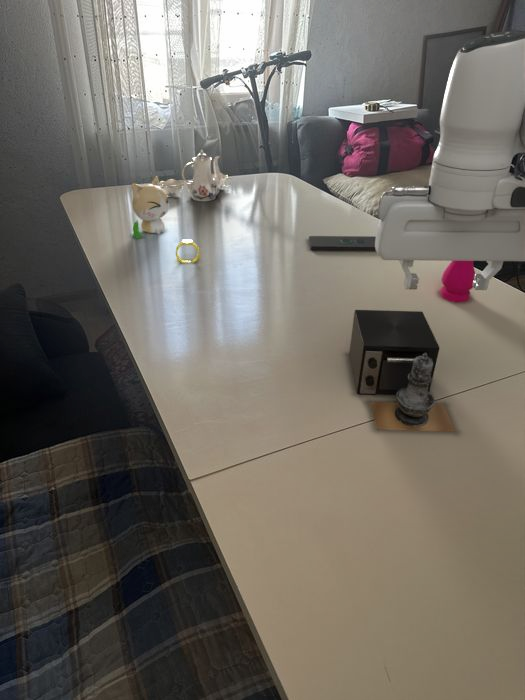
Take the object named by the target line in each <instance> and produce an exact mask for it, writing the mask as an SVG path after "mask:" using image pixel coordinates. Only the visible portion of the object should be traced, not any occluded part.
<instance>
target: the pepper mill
mask: <svg viewBox="0 0 525 700" xmlns="http://www.w3.org/2000/svg"><path fill="white" fill-rule="evenodd" d="M475 274H476V270H475V266H474V261H450V263H449V264H448V266H447V267H446V268H445V270H444V271H443V274H442V276H441V283H442V285H443V286H442V287H441V290H440V297H441V299H444V300H446V301H448V302H452V303H466V302H468V301H469V299H470V296H471V292H470V290H472V289H474V288H473V281H474V275H475Z"/></svg>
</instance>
